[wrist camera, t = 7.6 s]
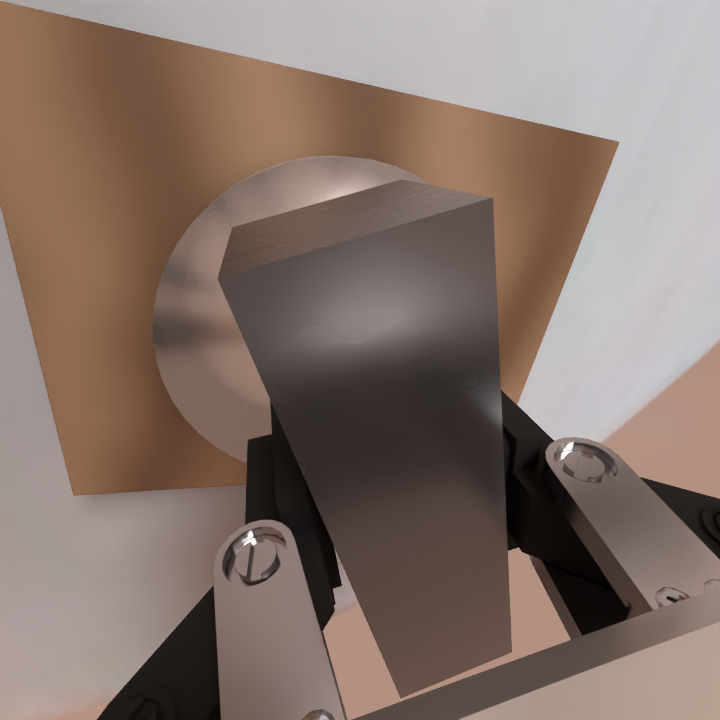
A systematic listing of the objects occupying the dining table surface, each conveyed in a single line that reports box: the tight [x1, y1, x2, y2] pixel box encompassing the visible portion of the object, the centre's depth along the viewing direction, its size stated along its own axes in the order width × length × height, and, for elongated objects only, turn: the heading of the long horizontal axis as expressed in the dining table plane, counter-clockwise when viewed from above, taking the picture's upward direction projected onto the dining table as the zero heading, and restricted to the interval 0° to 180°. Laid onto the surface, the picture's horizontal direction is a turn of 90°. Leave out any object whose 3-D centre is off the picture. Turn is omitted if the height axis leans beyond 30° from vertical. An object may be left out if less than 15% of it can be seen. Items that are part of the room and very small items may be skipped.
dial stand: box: [0, 1, 619, 496], centre depth 16 cm, size 20×16×2 cm
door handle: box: [153, 156, 512, 698], centre depth 11 cm, size 14×12×10 cm
